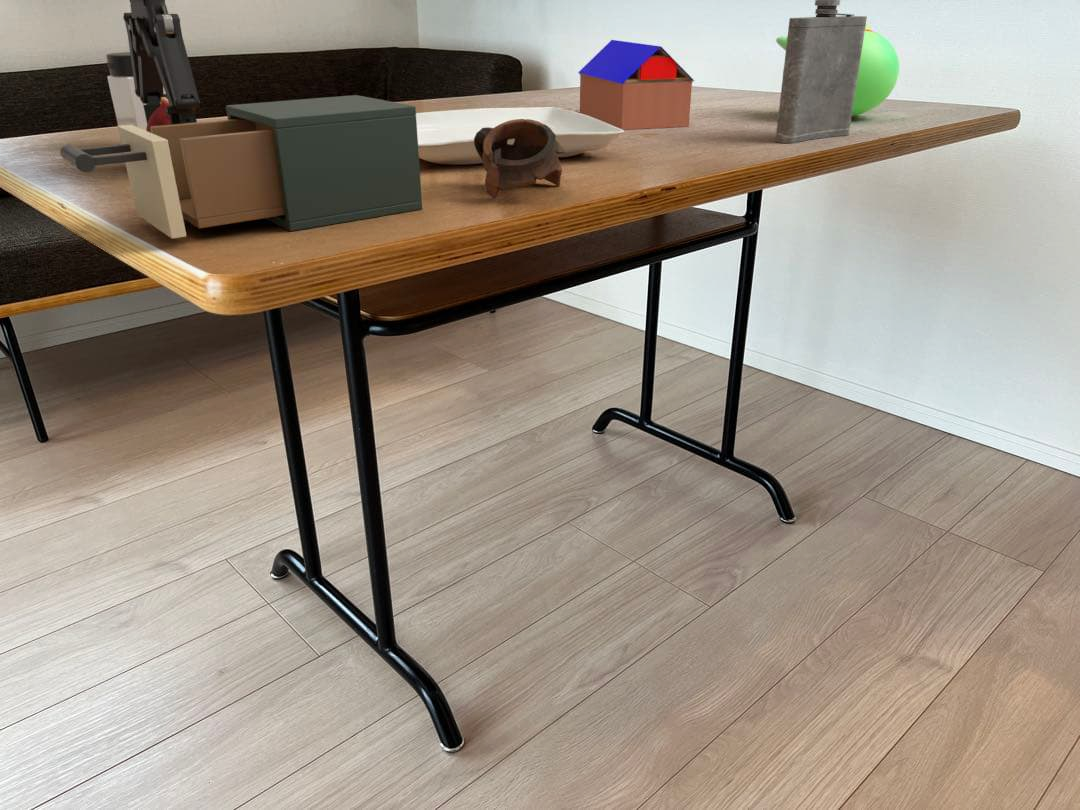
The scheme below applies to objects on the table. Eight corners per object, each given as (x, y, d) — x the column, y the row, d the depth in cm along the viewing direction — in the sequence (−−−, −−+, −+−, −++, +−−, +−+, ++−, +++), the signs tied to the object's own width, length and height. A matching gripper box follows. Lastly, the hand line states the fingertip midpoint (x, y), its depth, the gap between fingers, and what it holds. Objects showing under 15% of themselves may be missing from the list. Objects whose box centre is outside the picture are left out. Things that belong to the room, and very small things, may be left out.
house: (641, 110, 147) (644, 39, 142) (691, 126, 130) (697, 45, 125) (577, 113, 144) (578, 40, 139) (620, 130, 127) (623, 47, 122)
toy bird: (797, 125, 131) (810, 22, 124) (763, 111, 146) (773, 19, 139) (907, 123, 132) (926, 21, 126) (862, 109, 147) (877, 18, 141)
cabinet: (290, 231, 74) (274, 118, 70) (242, 207, 83) (225, 105, 78) (422, 209, 81) (415, 106, 77) (365, 188, 90) (356, 95, 86)
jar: (145, 141, 119) (126, 51, 114) (200, 141, 119) (184, 51, 114) (113, 152, 111) (91, 55, 106) (172, 152, 111) (153, 55, 106)
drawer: (102, 250, 66) (77, 148, 62) (73, 223, 73) (49, 131, 70) (313, 215, 75) (302, 126, 72) (268, 195, 83) (256, 113, 80)
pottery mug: (586, 192, 90) (581, 129, 83) (530, 244, 87) (520, 184, 80) (504, 151, 95) (493, 89, 88) (448, 200, 92) (432, 139, 85)
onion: (210, 161, 105) (198, 94, 102) (192, 170, 100) (179, 100, 96) (165, 161, 105) (151, 94, 102) (145, 170, 100) (130, 100, 97)
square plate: (554, 129, 128) (554, 103, 126) (626, 160, 104) (628, 127, 103) (377, 139, 120) (375, 111, 118) (413, 174, 97) (411, 139, 95)
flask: (766, 140, 118) (782, -1, 110) (832, 131, 125) (851, -2, 117) (786, 143, 115) (804, -1, 107) (853, 134, 122) (874, -2, 114)
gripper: (206, -43, 87) (241, 173, 97) (146, -37, 103) (182, 148, 113) (130, -44, 83) (175, 182, 93) (80, -37, 99) (123, 154, 109)
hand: (179, 163), depth 103 cm, fingers open, 10 cm apart
